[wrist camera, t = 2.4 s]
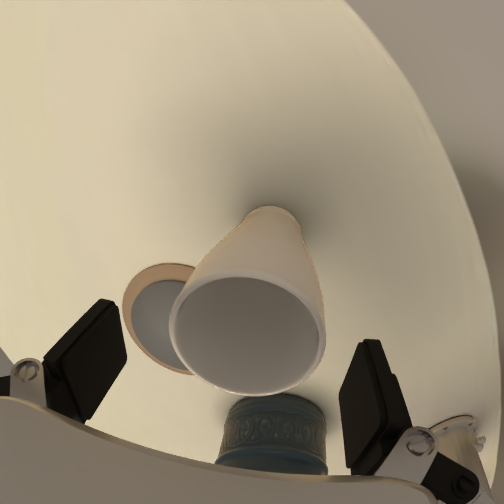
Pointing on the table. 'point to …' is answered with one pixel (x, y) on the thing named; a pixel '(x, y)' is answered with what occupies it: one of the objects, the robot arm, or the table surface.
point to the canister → (275, 436)
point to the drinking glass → (252, 309)
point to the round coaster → (155, 311)
